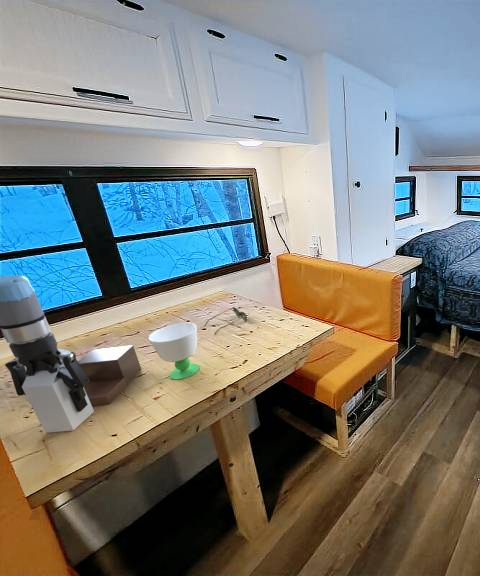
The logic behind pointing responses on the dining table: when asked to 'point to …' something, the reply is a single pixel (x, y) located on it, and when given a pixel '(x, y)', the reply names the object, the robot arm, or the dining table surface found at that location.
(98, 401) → the shelf stand
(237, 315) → the sunglasses
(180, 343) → the cup
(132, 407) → the dining table surface
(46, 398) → the milk carton
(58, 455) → the dining table surface
